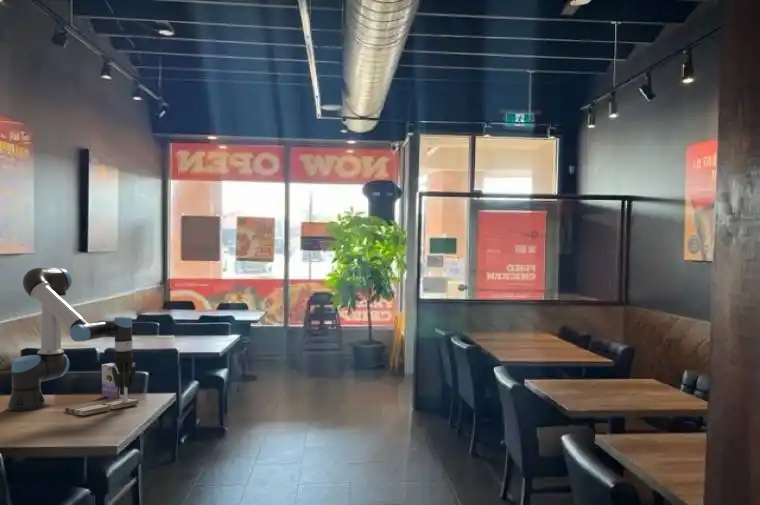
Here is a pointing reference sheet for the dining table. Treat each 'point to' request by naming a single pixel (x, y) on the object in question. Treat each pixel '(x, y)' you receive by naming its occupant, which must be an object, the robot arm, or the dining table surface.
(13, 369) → the robot arm
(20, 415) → the dining table surface
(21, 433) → the dining table surface
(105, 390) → the candy box
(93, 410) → the plank
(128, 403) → the plank
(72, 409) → the floor board
